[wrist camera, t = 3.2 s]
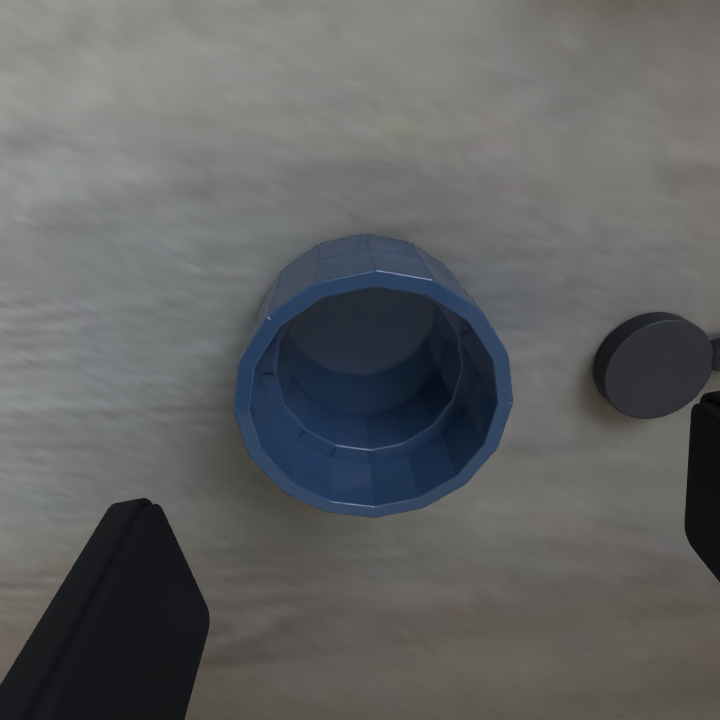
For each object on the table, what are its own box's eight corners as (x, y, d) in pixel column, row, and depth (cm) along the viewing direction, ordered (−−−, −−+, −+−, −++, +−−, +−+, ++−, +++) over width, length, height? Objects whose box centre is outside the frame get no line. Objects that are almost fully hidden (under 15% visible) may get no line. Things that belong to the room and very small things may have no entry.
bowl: (289, 444, 19) (277, 537, 15) (231, 259, 16) (196, 308, 12) (479, 406, 19) (522, 489, 14) (453, 209, 16) (497, 242, 12)
